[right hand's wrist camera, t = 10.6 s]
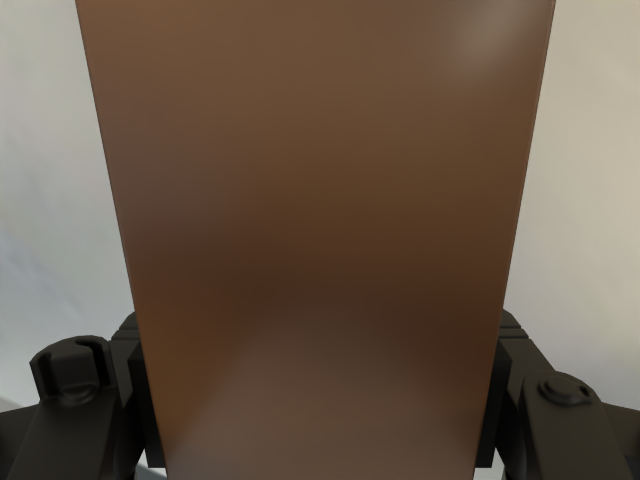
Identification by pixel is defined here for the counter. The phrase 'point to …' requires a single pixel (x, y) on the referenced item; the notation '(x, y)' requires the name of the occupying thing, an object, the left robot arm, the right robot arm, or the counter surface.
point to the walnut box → (317, 222)
